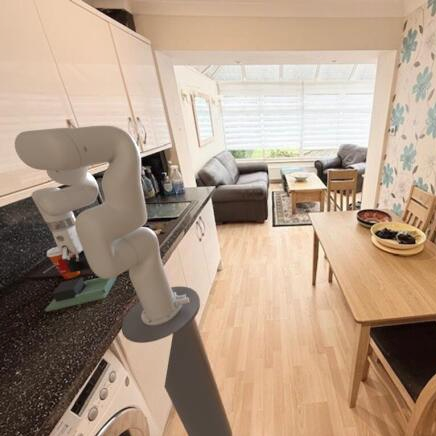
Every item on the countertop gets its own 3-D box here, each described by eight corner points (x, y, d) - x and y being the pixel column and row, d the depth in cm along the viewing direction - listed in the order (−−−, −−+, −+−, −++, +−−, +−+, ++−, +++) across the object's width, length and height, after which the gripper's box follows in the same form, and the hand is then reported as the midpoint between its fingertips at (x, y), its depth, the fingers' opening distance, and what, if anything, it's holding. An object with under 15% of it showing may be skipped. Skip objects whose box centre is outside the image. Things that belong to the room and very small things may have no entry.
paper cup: (61, 275, 107) (45, 249, 101) (82, 267, 112) (68, 242, 106) (61, 283, 102) (44, 256, 96) (83, 275, 106) (69, 248, 100)
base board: (117, 276, 104) (112, 267, 102) (105, 298, 92) (100, 288, 90) (65, 287, 99) (60, 277, 97) (46, 312, 87) (39, 301, 85)
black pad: (98, 259, 95) (94, 250, 93) (91, 268, 90) (86, 259, 88) (79, 262, 94) (74, 254, 92) (70, 272, 88) (65, 263, 86)
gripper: (62, 231, 77) (85, 275, 85) (85, 211, 92) (104, 250, 100) (33, 236, 75) (60, 280, 83) (62, 214, 90) (83, 254, 98)
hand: (84, 263), depth 91 cm, fingers closed on black pad, 6 cm apart
